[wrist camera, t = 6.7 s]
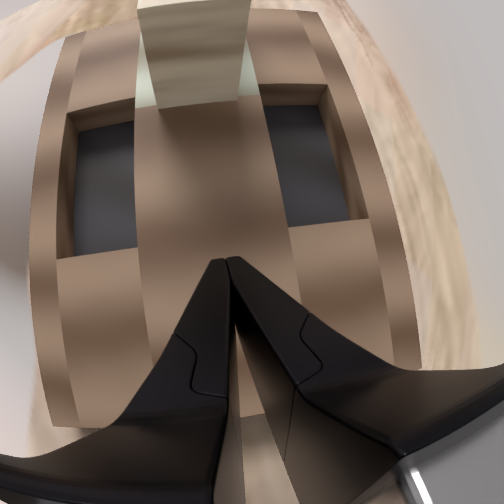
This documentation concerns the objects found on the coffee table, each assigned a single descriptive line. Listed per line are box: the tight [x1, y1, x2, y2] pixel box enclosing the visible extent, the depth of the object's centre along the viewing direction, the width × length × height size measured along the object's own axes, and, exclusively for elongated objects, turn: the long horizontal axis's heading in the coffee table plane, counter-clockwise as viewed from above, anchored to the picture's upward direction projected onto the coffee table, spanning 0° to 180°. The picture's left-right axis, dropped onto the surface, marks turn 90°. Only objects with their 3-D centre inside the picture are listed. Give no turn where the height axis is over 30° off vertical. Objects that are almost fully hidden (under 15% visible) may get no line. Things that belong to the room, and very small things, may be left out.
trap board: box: [29, 9, 422, 428], centre depth 19 cm, size 29×22×3 cm
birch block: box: [137, 0, 251, 109], centre depth 15 cm, size 10×5×8 cm, turn 9°
